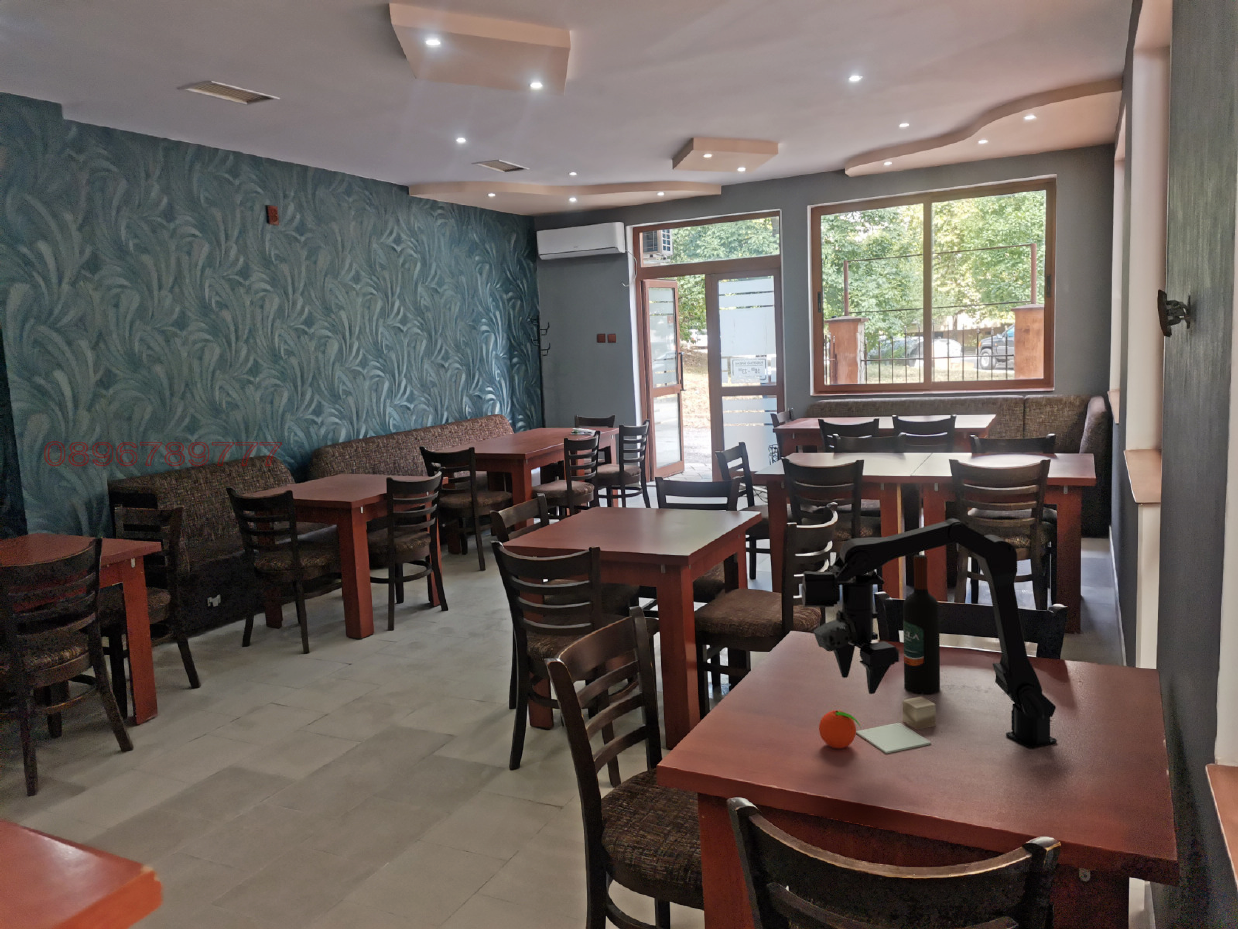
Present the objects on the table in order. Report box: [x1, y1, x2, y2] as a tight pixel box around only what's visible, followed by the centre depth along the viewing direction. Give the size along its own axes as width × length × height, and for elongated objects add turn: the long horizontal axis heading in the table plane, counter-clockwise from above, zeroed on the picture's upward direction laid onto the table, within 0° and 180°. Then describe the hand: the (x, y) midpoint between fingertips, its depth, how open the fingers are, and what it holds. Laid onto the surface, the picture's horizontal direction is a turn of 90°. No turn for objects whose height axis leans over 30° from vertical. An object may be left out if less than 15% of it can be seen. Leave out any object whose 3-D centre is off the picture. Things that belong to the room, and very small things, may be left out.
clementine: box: [818, 709, 862, 749], centre depth 168 cm, size 8×7×7 cm
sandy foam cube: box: [901, 696, 937, 730], centre depth 177 cm, size 4×4×4 cm
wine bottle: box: [902, 554, 941, 696], centre depth 193 cm, size 8×8×30 cm
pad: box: [856, 722, 932, 754], centre depth 170 cm, size 10×10×1 cm
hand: (858, 685), depth 168 cm, fingers open, 9 cm apart
